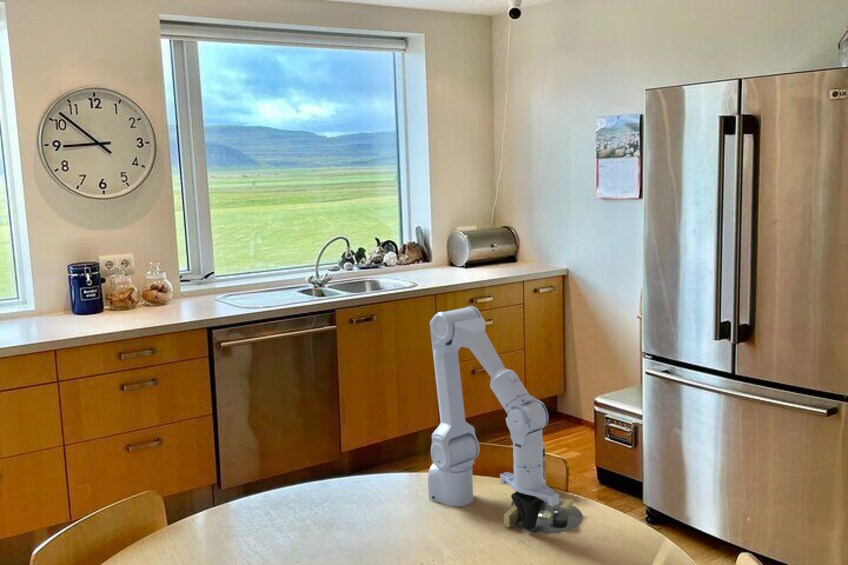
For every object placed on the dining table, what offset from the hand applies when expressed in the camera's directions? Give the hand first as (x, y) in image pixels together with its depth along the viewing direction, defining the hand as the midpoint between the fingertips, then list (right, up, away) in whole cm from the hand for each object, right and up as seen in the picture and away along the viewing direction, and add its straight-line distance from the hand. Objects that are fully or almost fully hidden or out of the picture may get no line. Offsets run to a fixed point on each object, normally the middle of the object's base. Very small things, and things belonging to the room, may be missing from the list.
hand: (529, 527), depth 151 cm
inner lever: (-2, 0, +5) cm, 6 cm away
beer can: (+4, +1, +21) cm, 21 cm away
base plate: (+4, -1, +7) cm, 8 cm away
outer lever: (+8, 0, +5) cm, 9 cm away
